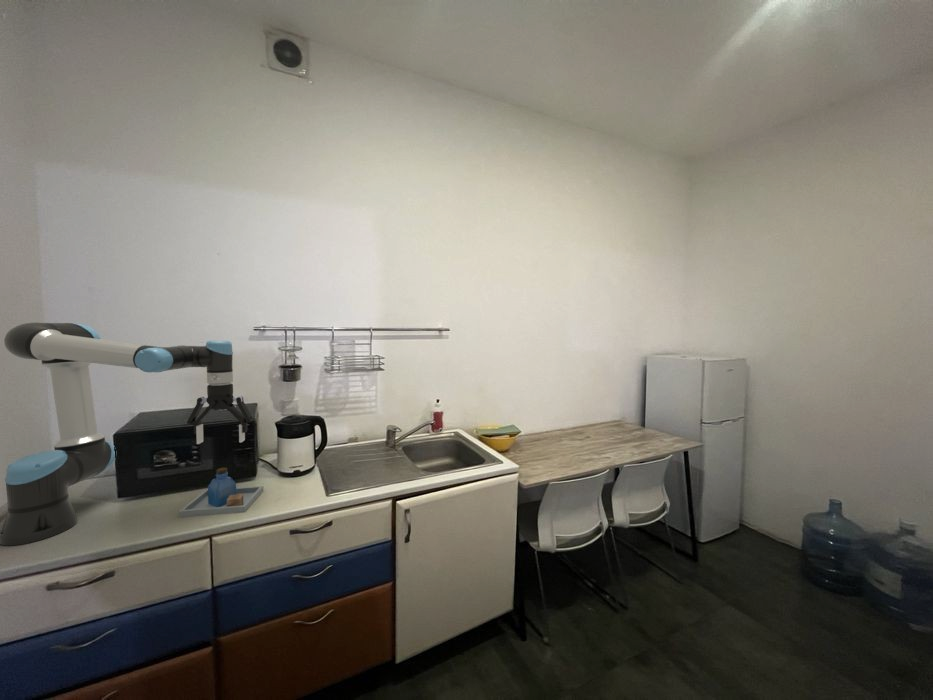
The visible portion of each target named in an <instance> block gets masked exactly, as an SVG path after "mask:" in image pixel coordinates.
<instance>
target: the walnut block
mask: <svg viewBox="0 0 933 700" xmlns="http://www.w3.org/2000/svg"><path fill="white" fill-rule="evenodd" d="M242 505H243V494H235V495H230V496H229V498H228V499H227V507H228V506H242Z"/></svg>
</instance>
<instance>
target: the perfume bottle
mask: <svg viewBox="0 0 933 700" xmlns="http://www.w3.org/2000/svg"><path fill="white" fill-rule="evenodd" d="M228 474H229V473H228V468H227V467H221V468H217V469H216V473H215V477H216V478H213V479H212V480H211V481H210V483H209V484H208V486H207V490H208V503H209V504H211V505H213V506H215V507H221V506H223V505H226V504H227V499H228V498H229V496H230V495H235V494H236V488H237V483H236V482H235V480H233V478H232V477H230V476H228Z"/></svg>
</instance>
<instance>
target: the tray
mask: <svg viewBox="0 0 933 700" xmlns="http://www.w3.org/2000/svg"><path fill="white" fill-rule="evenodd" d="M262 493H264V485H257V486H242V487H239V486H238V487H236V494H243V505H242V506H228V507H227V504H226V505H223V506H221V507H215V506H213V505H211V504H209V503H208V489H205V490H203V491H202V492H201V493H199V495H197V496H196V497H194V498H193V499H192V500H191V501H190V502H188V503H187V504H186V505H185V506H184V507H183V508H181V509H179V511H178V518H184V517H185V518H187V517H198V516H199V517H200V516H210V515H212V516H213V515H225V514H238V513H246V512H247V511H248V510H249V508H250V507H251V506H252V505H253V504H254V503H255V501H256V500H257V499H258V498H259V496H261V494H262Z"/></svg>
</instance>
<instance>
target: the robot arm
mask: <svg viewBox="0 0 933 700" xmlns="http://www.w3.org/2000/svg"><path fill="white" fill-rule="evenodd" d="M3 342H4V347H5V349H6V350H7V351H8V352H9V353H11V354H12V355H13V356H16V357H18V358H21V359H26V360H35V361H36V360H38V361H41V365H42V366H43V367H46V368H47V369H49V371H50V377H51V384H52V385H51V386H52V391H53V399H54V405H55V413H56V417H57V418H56V419H57V424H58V425H57V426H58V433H59V439H58V440H59V441H57V442H56V443H55V444H54V445H53V447H54V449H52V450H46V451H40V452H38V453H33V454H32V453H31V454H29V455H26V456H23V457H20V458H19V459H16V460H14V461H12V462H11V463H10V464H8V466H7V467H6V470H5V472H6V473H5V475H6V476H5V477H4V478H5V479H4V482H5V486H6V488H5V491H6V501H7V502H6V503H7V515H6V518H5V520H4V523H3V525H2V528H1V530H0V545H1V546H18V545H24V544H30V543H33V542H38V541H42V540H44V539H47V538H50V537H54V536H56V535H58V534H61V533H63V532H65V531H67V530H69V529H70V528H72V527H73V526H75V525H76V524H77V523H78V521H79V519H78V512H76V510H74V507H73V505H72V503H71V502H70V499H69V487H71V486H74V485H76V484H78V483H80V482H83V481H86V479H90V478H93V477H96V476H98V475H99V474H101V473H104V472H105V471H106V470H108V469H109V468H110V467H111V466H112V465H113V464H114V462H115V461H116V458H115V451H114V447H115V445H114V444H112V442H110V441H109V440H106V439H105V438H106V437H105V435H104V434H102V433H99V432H98V426H97V419H96V411H95V405H94V397H93V390H92V383H91V375H90V369H89V366H90V365H91V364H100V365H108V366H115V367H124V368H133V369H139V370H141V372H145V373H163V372H165V371H173V370H181V369H186V368H188V369H189V368H206V383H207V386H206V390H207V391H206V393H207V397H204V396H200V397H197V399H196V405H195V406H194V407H193V410H192V412H191V414H190V415H189V417H188V419H187V421H186V424H187V425H192V427H193V434H194V435H196V445H200V444H201V443H203V442H204V424H203V423H202V422H203V421H204V420H205V419H206V418H207V416H208V415H210V413H211V412H212V411H213V410H214V411H218V410H219V411H220V410H221V411H225V410H226V411H228V412H229V413H231V414H232V416H233V417H234V418H235V419H236V420H237V421H239V423H240V424H239V425H238V442H239V443H240V444H241V443H243V442H244V441H245V440H246V433H247V432H248V423H251V422H252V421H254V417H253V415H252V414H251V412H250V410H249V409H248V407H247V406H246V404H245V401H244V396H242V395H240V396H238V397H234V384H233V382H234V374H233V370H234V369H233V354H234V352H233V343H232V342H231V341H229V340H208V341H206V343H205V345H203V346H202V345H201V346H200V345H173V346H172V345H171V346H167V347H165V346H162V347H161V346H154V345H146V344H138V343H133V342H132V343H131V342H124V341H123V342H122V341H117V340H110V339H109V340H108V339H101V337H100V335H99V333H98V332H97V331H96V330H95V329H93V328H92V327H91V326H88V325H86V324H81V323H74V322H70V323H69V322H26V323H25V322H24V323H21V324H19V325H16V326H15V327H12V328H10V329H9V330H8V331H7V333H6V334H5V337H4V339H3ZM206 403H207V404H208V405H207V407H206V408H205V409H204V410H203V412H202V413H201V414H200V412H201V411H202V409H203V408H204V405H205V404H206ZM234 403H235V404H237V407H238V408H239V410H240V411H239V410H238V409H237V407H236V406H235V405H234ZM199 414H200V415H199Z"/></svg>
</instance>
